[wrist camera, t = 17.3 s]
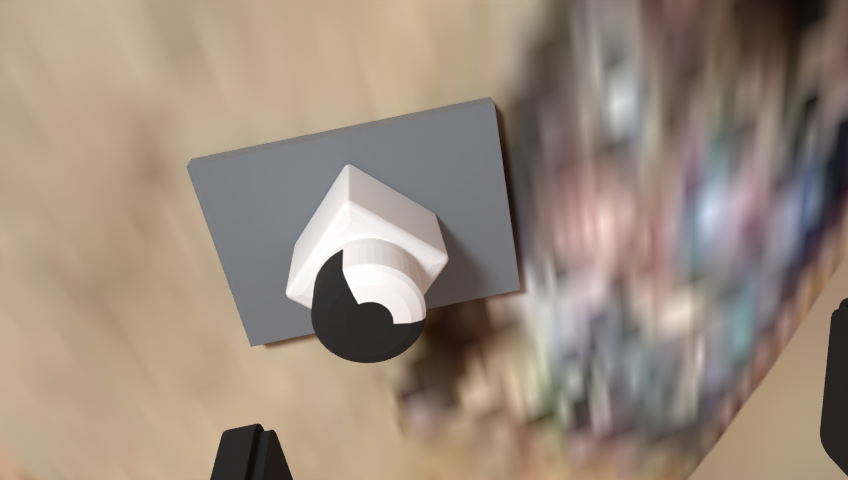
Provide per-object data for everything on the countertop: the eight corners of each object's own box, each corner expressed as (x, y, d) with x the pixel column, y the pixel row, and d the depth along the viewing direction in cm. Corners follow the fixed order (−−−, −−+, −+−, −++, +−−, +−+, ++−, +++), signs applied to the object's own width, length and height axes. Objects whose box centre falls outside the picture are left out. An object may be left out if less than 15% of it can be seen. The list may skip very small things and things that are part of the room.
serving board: (489, 97, 43) (494, 102, 42) (515, 280, 49) (520, 289, 48) (191, 159, 43) (186, 166, 42) (253, 335, 49) (251, 346, 48)
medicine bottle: (381, 292, 47) (390, 399, 36) (292, 246, 45) (273, 344, 34) (437, 213, 45) (464, 301, 34) (347, 160, 43) (345, 236, 32)
